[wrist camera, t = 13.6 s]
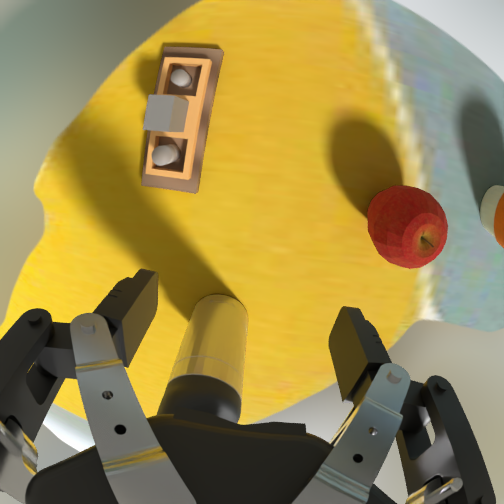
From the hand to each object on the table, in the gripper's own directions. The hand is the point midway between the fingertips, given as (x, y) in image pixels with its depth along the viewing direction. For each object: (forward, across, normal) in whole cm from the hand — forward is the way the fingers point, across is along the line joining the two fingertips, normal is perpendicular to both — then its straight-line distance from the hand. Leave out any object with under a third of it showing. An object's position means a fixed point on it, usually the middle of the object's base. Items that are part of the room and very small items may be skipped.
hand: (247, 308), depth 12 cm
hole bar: (+27, +12, -8) cm, 30 cm away
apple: (+28, -19, -1) cm, 34 cm away
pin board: (+28, +12, -8) cm, 32 cm away
